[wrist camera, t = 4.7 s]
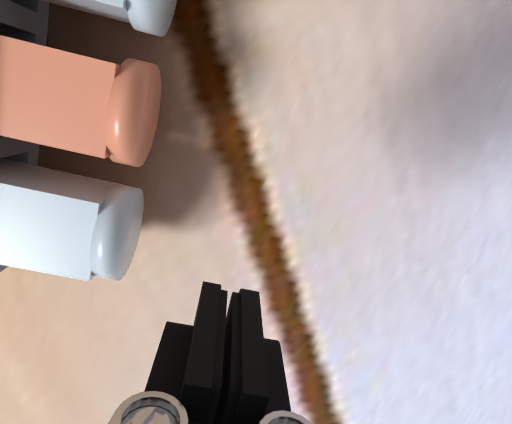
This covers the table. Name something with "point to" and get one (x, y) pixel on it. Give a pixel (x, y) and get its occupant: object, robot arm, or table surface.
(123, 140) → the plug terracotta
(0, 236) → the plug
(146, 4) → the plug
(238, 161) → the table surface
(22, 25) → the socket block
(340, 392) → the table surface
